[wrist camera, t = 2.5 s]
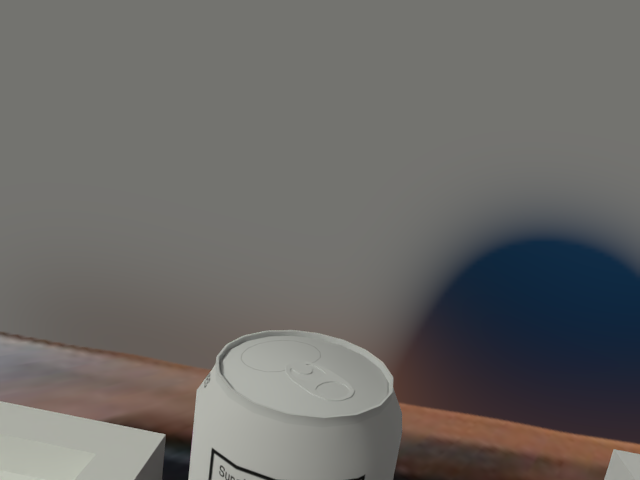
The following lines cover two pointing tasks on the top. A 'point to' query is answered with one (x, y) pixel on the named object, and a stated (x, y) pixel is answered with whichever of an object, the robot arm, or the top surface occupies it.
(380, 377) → the supplement can
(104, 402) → the top surface
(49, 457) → the tray
